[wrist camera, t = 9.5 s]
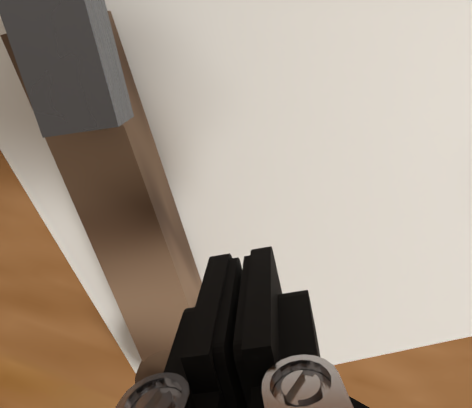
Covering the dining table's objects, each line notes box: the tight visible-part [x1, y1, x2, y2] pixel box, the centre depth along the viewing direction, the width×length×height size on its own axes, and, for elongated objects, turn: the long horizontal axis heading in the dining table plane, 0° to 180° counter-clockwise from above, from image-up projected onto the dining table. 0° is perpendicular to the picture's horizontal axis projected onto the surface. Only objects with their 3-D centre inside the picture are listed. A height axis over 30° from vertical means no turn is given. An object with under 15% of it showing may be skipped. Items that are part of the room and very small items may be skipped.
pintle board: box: [0, 0, 472, 373], centre depth 18 cm, size 22×22×2 cm
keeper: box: [0, 0, 134, 138], centre depth 13 cm, size 7×2×5 cm, turn 9°
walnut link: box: [0, 11, 202, 383], centre depth 17 cm, size 18×5×5 cm, turn 14°
